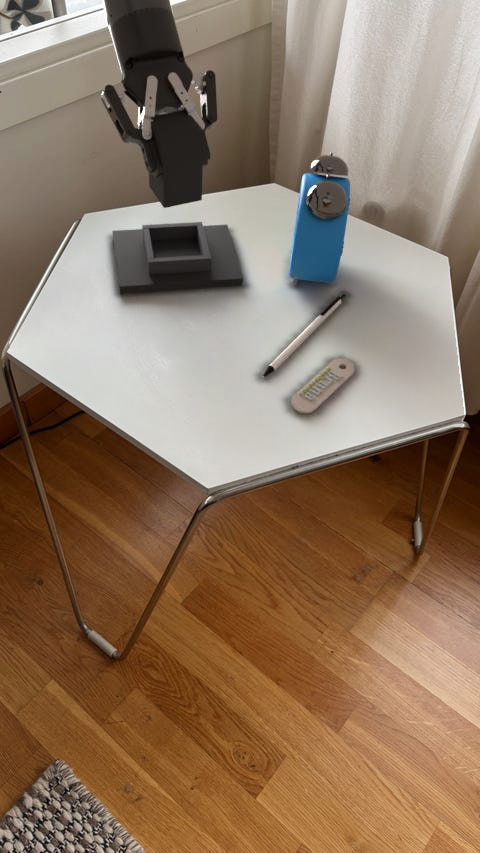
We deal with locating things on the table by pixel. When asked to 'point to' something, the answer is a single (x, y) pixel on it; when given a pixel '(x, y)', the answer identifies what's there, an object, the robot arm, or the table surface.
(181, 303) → the table surface
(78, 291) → the table surface
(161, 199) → the pad block
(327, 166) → the alarm clock
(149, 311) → the table surface
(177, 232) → the base pad
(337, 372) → the keychain
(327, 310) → the pen
